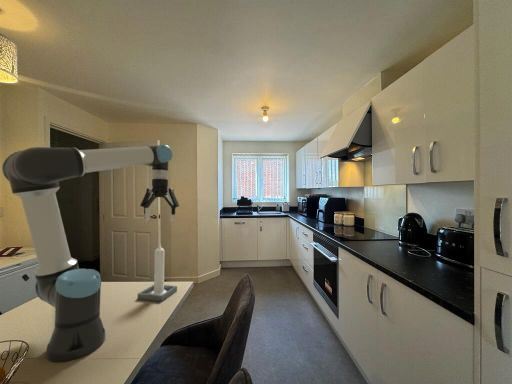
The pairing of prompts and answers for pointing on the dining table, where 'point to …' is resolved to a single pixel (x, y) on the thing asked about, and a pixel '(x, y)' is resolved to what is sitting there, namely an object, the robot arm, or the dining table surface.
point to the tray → (148, 296)
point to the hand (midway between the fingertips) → (159, 221)
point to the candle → (159, 272)
